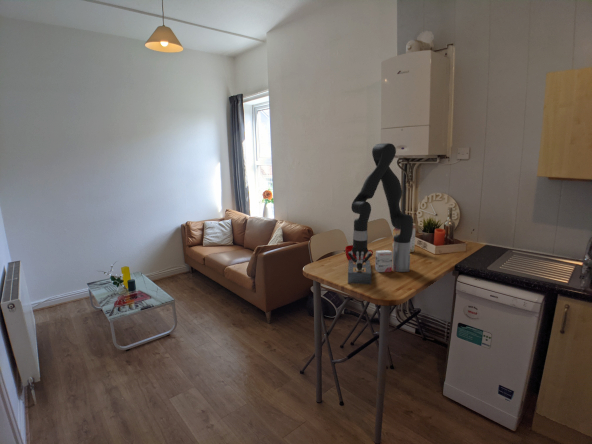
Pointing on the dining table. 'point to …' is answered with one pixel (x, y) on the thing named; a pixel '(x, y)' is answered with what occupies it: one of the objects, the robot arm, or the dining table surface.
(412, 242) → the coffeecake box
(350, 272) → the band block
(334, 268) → the dining table surface
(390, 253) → the ink box
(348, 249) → the ceramic cup
